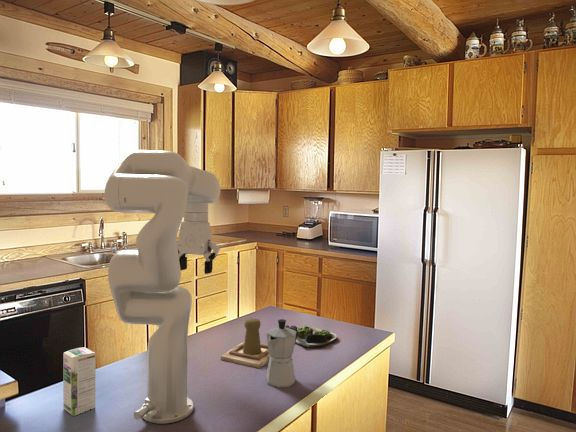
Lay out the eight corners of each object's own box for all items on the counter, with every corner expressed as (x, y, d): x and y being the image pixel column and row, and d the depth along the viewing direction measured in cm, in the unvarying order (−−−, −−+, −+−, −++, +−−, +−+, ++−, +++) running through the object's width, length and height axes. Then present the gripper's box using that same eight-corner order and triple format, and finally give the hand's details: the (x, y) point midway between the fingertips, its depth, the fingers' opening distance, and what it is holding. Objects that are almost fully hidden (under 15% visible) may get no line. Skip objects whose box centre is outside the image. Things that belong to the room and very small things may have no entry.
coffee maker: (281, 393, 123) (283, 329, 121) (255, 385, 127) (256, 322, 126) (308, 373, 136) (309, 315, 134) (283, 367, 140) (284, 310, 139)
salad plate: (271, 338, 166) (271, 326, 166) (303, 327, 179) (303, 316, 179) (311, 353, 153) (312, 340, 152) (343, 340, 166) (343, 328, 165)
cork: (258, 356, 145) (259, 322, 144) (240, 354, 146) (241, 321, 145) (263, 349, 151) (263, 317, 150) (245, 347, 152) (246, 315, 151)
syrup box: (62, 408, 112) (61, 352, 111) (85, 400, 116) (85, 345, 115) (73, 417, 108) (72, 358, 107) (96, 407, 113) (96, 351, 112)
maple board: (259, 368, 139) (259, 361, 139) (220, 359, 145) (220, 353, 144) (281, 350, 153) (281, 345, 153) (246, 343, 159) (246, 338, 159)
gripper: (166, 216, 142) (165, 270, 143) (212, 220, 134) (211, 276, 136) (181, 215, 148) (181, 266, 150) (225, 218, 141) (225, 272, 143)
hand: (195, 271), depth 143 cm, fingers open, 9 cm apart
